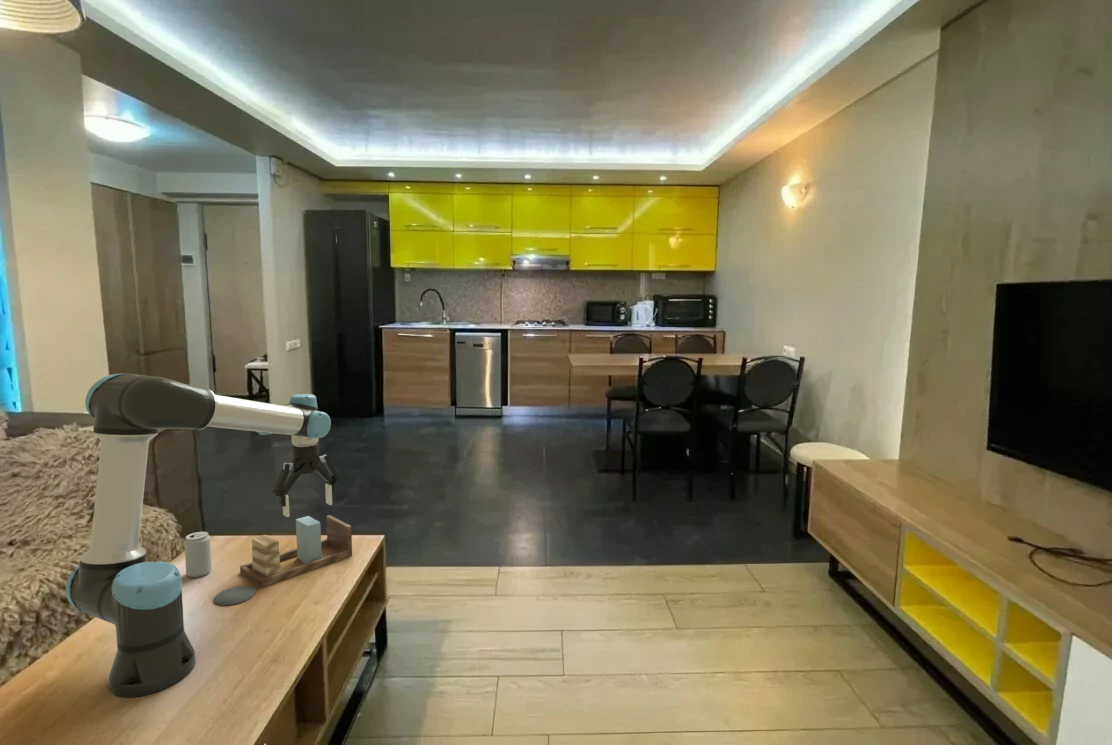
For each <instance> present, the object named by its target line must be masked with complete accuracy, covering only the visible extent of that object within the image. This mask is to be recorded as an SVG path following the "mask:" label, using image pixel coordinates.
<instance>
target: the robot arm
mask: <svg viewBox="0 0 1112 745" xmlns="http://www.w3.org/2000/svg"><path fill="white" fill-rule="evenodd" d="M84 403H85V408H86V411H87V413H88V414H89V415H90V416H91V418H93V419H94V420H93V421H94V422H93V429H92V430H93V432H92V434H93V435H94V436H96V438H97V439H99V440H100V450H99V459H98V460H99V461H98V468H97V469H98V470H97V481H96V489H95V490H96V491H95V499H94V509H93V518H92V519H93V521H92V529H91V537H90V546H89V549H88V550H87V551H85V553H83V554H82V555H81V556H80V558H79V565H78V566H76V568H75V570H74V571H73V572H71V573H70V575H69V577H68V578H67V582H66V585H65V595H66V599H67V600H68V602H69V604H70V605H71V606H72V607H74V609H76V610H78V612H80V613H83V614H84V615H85V616H86V615H87V616H90V617H94V618H97V619H99V620H102V621H104V622H107V623H108V624H109V623H110V624H112V625H114V626H115V632H116V633H115V635H116V647H117V649H116V653H115V656H114V659H113V662H112V666H111V669H110V673H109V676H108V685H109V687H108V688H109V690H110V693H111V694H113V695H115V696H117V697H122V698H134V697H135V698H136V697H142V696H146V695H150V694H154V693H157V692H159V691H162V690H165V689H167V688H169V687H170V686H173V685H174V684H177V683H178V682H180V681H181V680H182V679H184V678H185V677H187V676H188V675H189V674H190V673H191V671H193V669H194V668H195V665H196V653H195V652H196V651H195V648H194V647H193V645H192V643H191V641H190V639H189V638H188V635H187V634H186V632H185V624H184V610H183V609H184V606H183V590H182V588H183V581H182V578H181V577H182V576H181V573H180V570H179V568H178V567H177V566H176V565H174V564H172V563H171V562H167V561H161V560H160V561H159V560H158V561H157V560H156V561H155V562H153V561H152V560H151V561H146V556H147V555H146V554H147V551H146V549H145V548H143V547H142V546H141V545H140V544H139V543H140V535H141V527H142V526H141V525H142V515H143V503H144V497H145V496H144V495H145V484H146V474H147V466H148V464H147V463H148V456H149V455H148V454H149V444H150V441H151V440H152V439H154V438H155V437H156V436H157V435H158V434H159V430H185V429H186V430H196V431H201V430H203V429H205V428H207V427H211V428H221V429H230V430H239V431H250V432H256V433H257V434H258V435H262V436H267V435H272V434H279V435H288V436H291V444H292V447H291V448H292V450H291V451H292V452H291V453H292V455H291V456H292V462H282V465H281V471H280V473H279V475H278V477H277V480H276V482H275V484H274V487H273V490H272V492H271V495H274V496H275V497H279V498H278V500H279V505H280V507H281V508H282V515H283V516H284V517H286V518H289V517H291V516H290V500H289V498H290V497H289V495H288V493H289V492H290V490H291V489H292V487H293V486H294V484H295V482H296V481H297V480H298V478H300V477H301V476H302V475H307V474H311V473H312V474H313V473H314V472H316V473H317V474H318V475H319V476H320V477H322V479H323V480H324V481H326V482H327V483H325V484H324V487H325V488H324V489H325V503H326V504H327V505H329V506H332V505H333V494H334V493H335V485H336V484H337V482H339V481H340V479H341V478H340V477H339V475H338V473H337V471H336V470H335V468H334V467H333V464H332V463H331V461H330V456H329V455H327V454H324V453H323V454H321V455H319V454H320V446H319V439H321V438H324V437H325V436H326V435H328V434H329V432H330V430H331V425H332V421H331V417H330V416H329V414H327V413H326V412H324V411H319V410H318V409H319V408H318V402H317V396H316V395H314V394H312V393H297V394H293V395H291V396H290V398H289V403H287V404H286V403H285V404H281V405H280V404H274V403H268V402H262V401H256V400H251V399H250V400H249V399H244V398H239V397H238V398H237V397H232V396H226V395H220V394H215V393H214V391H212V390H211V389H209V388H206V387H205V388H204V387H199V386H195V385H190V384H187V383H183V382H180V381H176V380H174V379H170V378H165V377H161V376H156V375H155V376H153V375H152V376H151V375H143V374H136V373H135V374H134V373H130V372H127V373H126V372H125V373H115V374H114V373H113V374H110V375H109V374H108V375H106V376H103V377H101V378H100V379H99V380H98V381H97V380H96V382H94V383H93V384H92V386H91V387H90V388H89V389H88V391H87V392H86V397H85V402H84ZM320 463H323V465H324V466H325V469H326V470H327V471H328V473H329V475H330V476H329V475H328V474H327V473H326V472H325V471H323V469H322V468H321V467H320V466H319V464H320ZM292 468H293V469H292ZM290 470H292V471H291V474H290ZM288 476H289V477H288Z"/></svg>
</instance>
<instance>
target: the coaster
mask: <svg viewBox="0 0 1112 745" xmlns="http://www.w3.org/2000/svg"><path fill="white" fill-rule="evenodd" d="M255 592H256V588H254V587H253V586H251V585H250V586H249V585H240V586H239V585H238V586H233V587H230V588H226V589H224V590H221V591H220V592H219V593H217V594H216V595H215V596H214V597H213V603H214V604H215V605H217V606H221V607H224V606H225V607H227V606H235V605H239V604H242V603H245V602H248V601H249V600H251V599H252V598H253V597H255V595H256V593H255ZM250 598H251V599H250Z"/></svg>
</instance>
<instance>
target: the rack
mask: <svg viewBox="0 0 1112 745" xmlns="http://www.w3.org/2000/svg"><path fill="white" fill-rule="evenodd" d="M325 519H326V539H321V549H322V548H325V547H328V546H329V547H331V548H333V549H334V550H336V551H338V552H336V553H333V554H330V555H327V556H324V557H322V558H321V559H318V560H315V561H313V562H310V563H307V564H305V563H303V564H301V565H299V566H296V567H292V568H290V569H287V570H284V571H281V572H280V573H278V574H275V575H272V576H269V577H266V578H263V579H262V578H261V577H259V576H258V575H257V574H255V573H254V572H253V567H252V562H249V563H246V564H243V565H240V566H239V571H240V574H242V576H244V577H245V578H246V579H248V580H249V581H250V582H251V583H252V584H254V586H256V587H258V588H259V589H262V588H265V587H268V586H270V585H273V584H276V583H279V582H282V581H285V580H288V579H290V578H293V577H296V576H299V575H302V574H304V573H307V572H309V571H313V570H316V569H319V568H321V567H324V566H327V565H329V564H333V563H336V562H338V561H341V560H344V559H347V558H349V557H352V556H353V537H352V535H353V534H352V533H353V532H352V525H351V524H349V523H346V522H345V521H342V520H340V519H338V518H336V517H334V516H333V515H330V514H329V515H326V518H325ZM279 556H280V562H283V561H285V560H288V559H291V558H295V557H297V547H296V548H294V549H290V550H287V551H285V552H281V553H279ZM261 587H262V588H261Z"/></svg>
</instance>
